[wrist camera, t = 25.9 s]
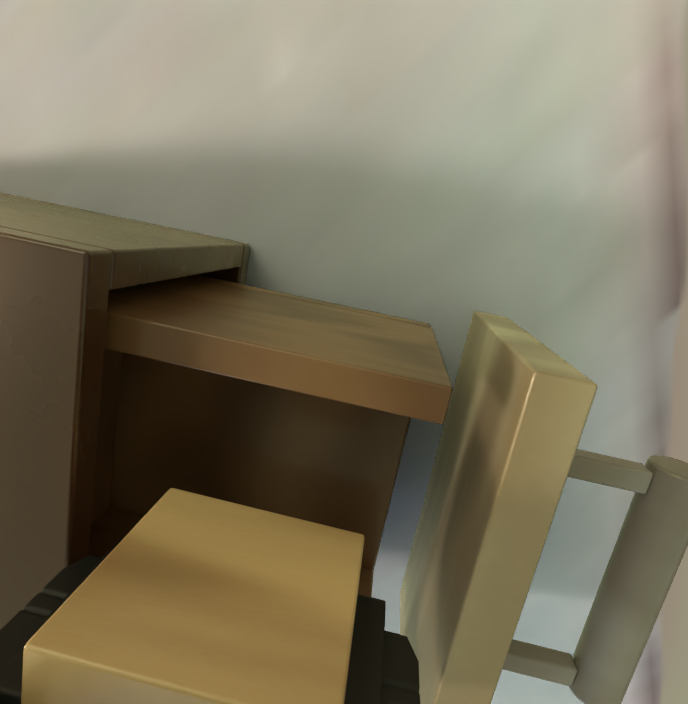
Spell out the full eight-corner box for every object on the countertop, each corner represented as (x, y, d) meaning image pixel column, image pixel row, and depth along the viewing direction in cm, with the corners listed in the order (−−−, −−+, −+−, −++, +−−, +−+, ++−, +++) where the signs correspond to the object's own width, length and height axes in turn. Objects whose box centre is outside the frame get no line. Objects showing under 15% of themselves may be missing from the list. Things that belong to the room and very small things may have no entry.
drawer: (645, 345, 16) (857, 440, 9) (545, 627, 19) (639, 885, 11) (128, 238, 17) (-82, 238, 10) (104, 518, 20) (-73, 687, 13)
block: (327, 694, 11) (284, 957, 7) (150, 647, 11) (10, 874, 7) (365, 533, 10) (341, 732, 6) (170, 485, 10) (20, 645, 6)
